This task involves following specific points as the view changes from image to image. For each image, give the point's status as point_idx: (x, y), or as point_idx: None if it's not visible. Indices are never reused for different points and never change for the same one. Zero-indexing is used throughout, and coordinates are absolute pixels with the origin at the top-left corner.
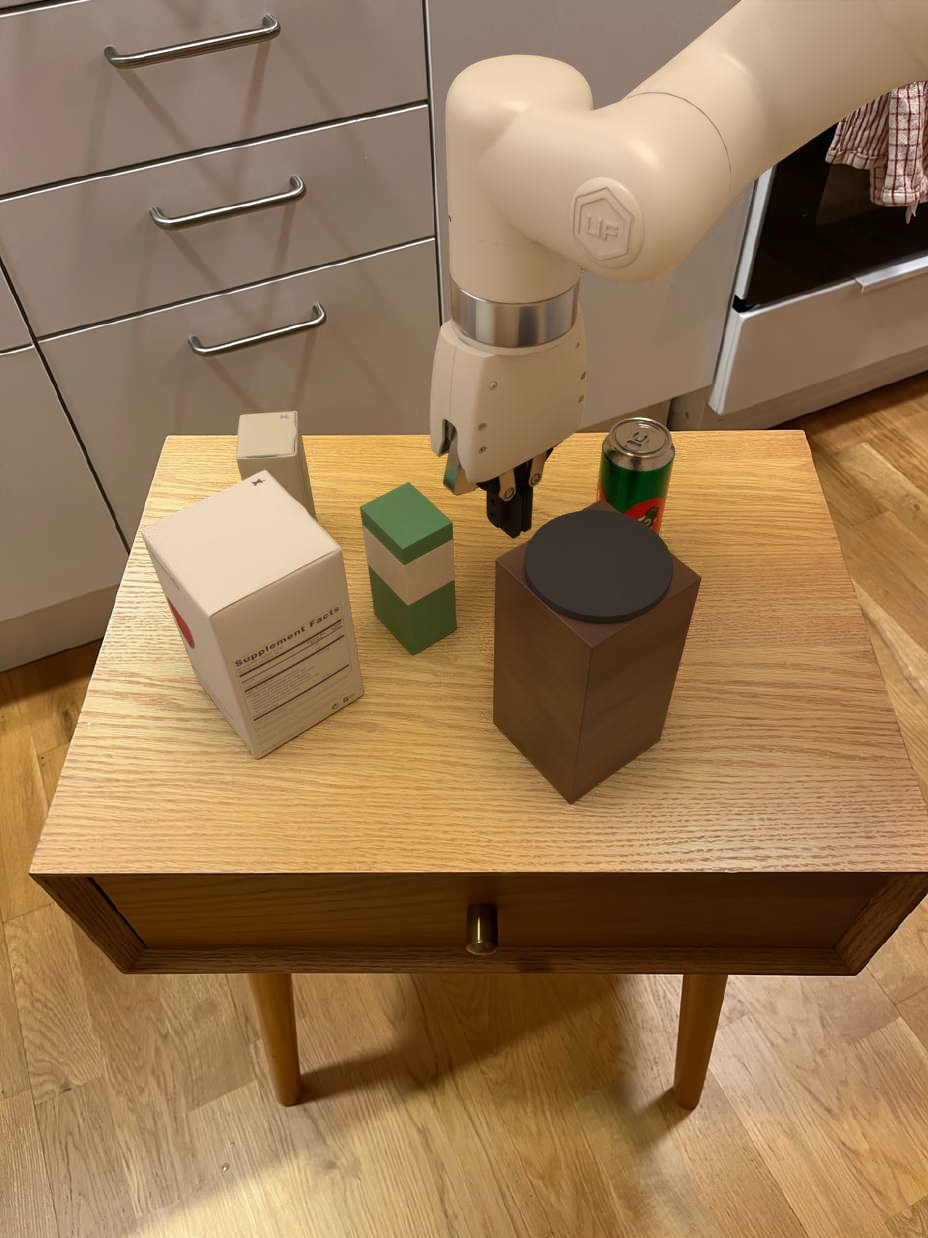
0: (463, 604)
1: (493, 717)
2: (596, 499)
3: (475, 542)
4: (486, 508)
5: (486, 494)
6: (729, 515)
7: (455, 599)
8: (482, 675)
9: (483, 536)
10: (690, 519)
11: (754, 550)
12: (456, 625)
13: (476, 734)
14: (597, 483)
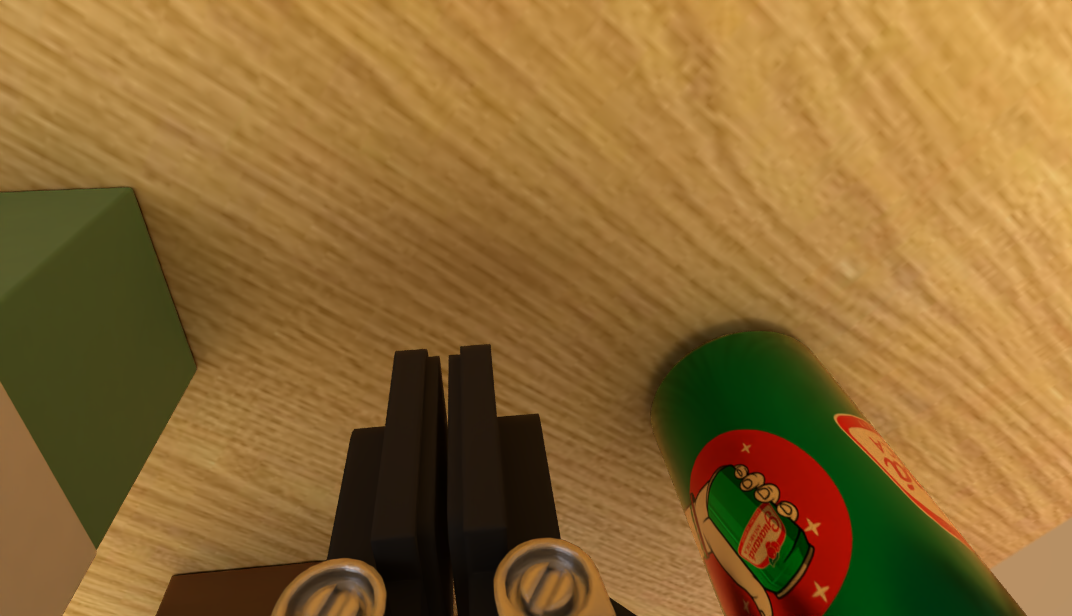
0: (259, 307)
1: (163, 598)
2: (755, 547)
3: (435, 110)
4: (346, 460)
5: (332, 533)
6: (1021, 410)
7: (143, 464)
8: (203, 490)
9: (478, 102)
10: (958, 377)
11: (941, 496)
12: (190, 380)
13: (125, 579)
14: (797, 593)
